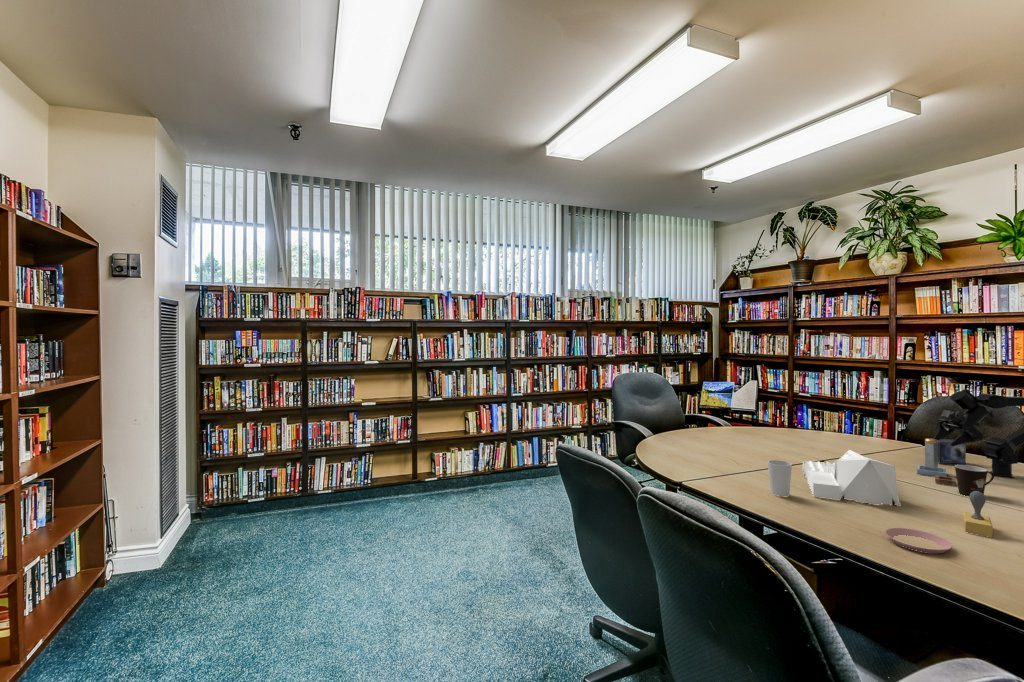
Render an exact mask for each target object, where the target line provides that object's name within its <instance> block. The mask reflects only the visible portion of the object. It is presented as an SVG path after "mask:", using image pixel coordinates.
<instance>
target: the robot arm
mask: <svg viewBox="0 0 1024 682" xmlns="http://www.w3.org/2000/svg"><path fill="white" fill-rule="evenodd" d="M949 399H950V401H952V402H953V403H954V404H955V405H957V406H958V407H959V408H960V409H961V410H965V411H964V412H962V411H960V410H956V411H953V410H947V409H943V411H942V413H941V415H940V417H942V418H945V419H942V418H937V419H936V420H935V421H934V424H935V426H936V433H935V435H934V437H933V439H937V440H940V439H944V438H947V436H950V435H952V433H954V432H955V431H957V432H959V433H958V435H956V437H955V438H954V439H952V440H953V442H952V443H951V445H952V446H956V445H959V444H963V443H966V444H967V443H970V442H977V441H982V440H983V439H984V437H985V433H983V432H982V431H981V430H980V429H979V428H978V427H980V425H981V424H980V421H982V420H984V418H985V417H988V418H994V414H993V413H994V412H993V410H989V409H988V408H990V409H996V410H997V409H1004V408H1008V407H1024V396H1008V395H1007V396H1004V395H1000V394H991V393H986V392H985V393H984V392H983V393H980V394H978V395H977V396H975V395H973V394H972V393H971V391H970V390H968V389H964V388H963V389H962V390H960V391H957V392H956V391H955V393H952V394H951V395H950V398H949ZM1023 444H1024V426H1022V427H1020V428H1019V429H1017V430H1015V431H1014V432H1012V433H1009V434H1008V435H1006V436H1005V437H998V436H993V437H991V438H989V439H988V440H985V441H984V443H983V444H982V448H981V449H982V452H983V453H984V456H985V457H986V459H990V460H991V470H989V472H992V473H993V475H994V477H999V478H1001V477H1002V478H1007V477H1010V478H1009V479H1015V476H1014V474H1013V465H1015V464H1019V461H1020V458H1019V457H1018V456H1017V455H1016V454H1015V452H1016V450H1017V448H1018V447H1019V446H1021V445H1023Z"/></svg>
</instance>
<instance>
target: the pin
mask: <svg viewBox="0 0 1024 682" xmlns="http://www.w3.org/2000/svg"><path fill="white" fill-rule="evenodd" d="M924 466H925V470H929V471H937V472H938V468H939V465H938V440H937V439H934V438H924Z"/></svg>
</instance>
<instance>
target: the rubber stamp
mask: <svg viewBox="0 0 1024 682" xmlns="http://www.w3.org/2000/svg"><path fill="white" fill-rule="evenodd" d="M968 498H969V501H970V503H971V505H972V507H973V509H974V513H973V512H968V511H964V512H963V514H962V515H963V517H962V518H963V519H962V521H963V528H964V532H965V533H966V532H968V533H967V534H969V533H973V534H972V535H974V534H978V535H977V536H979V535H983V536H982V537H984V536H988V537H987V538H989V537H992V538H993V536H994V535H993V533H994V531H993V526H994V525H993V523H992V520H991V517H990V516H989V515H986V514H981V513H982V512H981V511H982V509H983V507H984V506H985V503H986V502H987V499H986V495H985V493H984V494H983V493H981V492H979V491H973V492H971V493H970V496H969V497H968Z"/></svg>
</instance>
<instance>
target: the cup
mask: <svg viewBox="0 0 1024 682" xmlns="http://www.w3.org/2000/svg"><path fill="white" fill-rule="evenodd" d="M792 469H793V463H792V462H790V461H786V460H779V459H769V460H768V461H767V470H768V477H769V488H770V491H769V493H770V492H771V493H772V494H775V495H779V496H788V495H790V496H791V493H790V492H791V483H792V481H791V479H792Z"/></svg>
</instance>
